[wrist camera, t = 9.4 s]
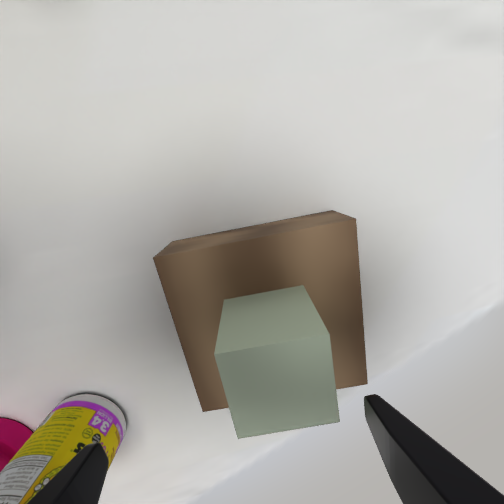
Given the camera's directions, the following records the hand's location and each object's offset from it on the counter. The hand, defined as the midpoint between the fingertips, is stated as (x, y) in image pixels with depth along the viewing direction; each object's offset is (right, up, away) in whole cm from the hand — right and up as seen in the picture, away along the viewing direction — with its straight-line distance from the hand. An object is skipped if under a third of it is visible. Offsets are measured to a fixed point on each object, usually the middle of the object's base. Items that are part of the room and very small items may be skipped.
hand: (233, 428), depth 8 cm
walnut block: (+2, +2, +12) cm, 12 cm away
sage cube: (+2, +1, +8) cm, 8 cm away
